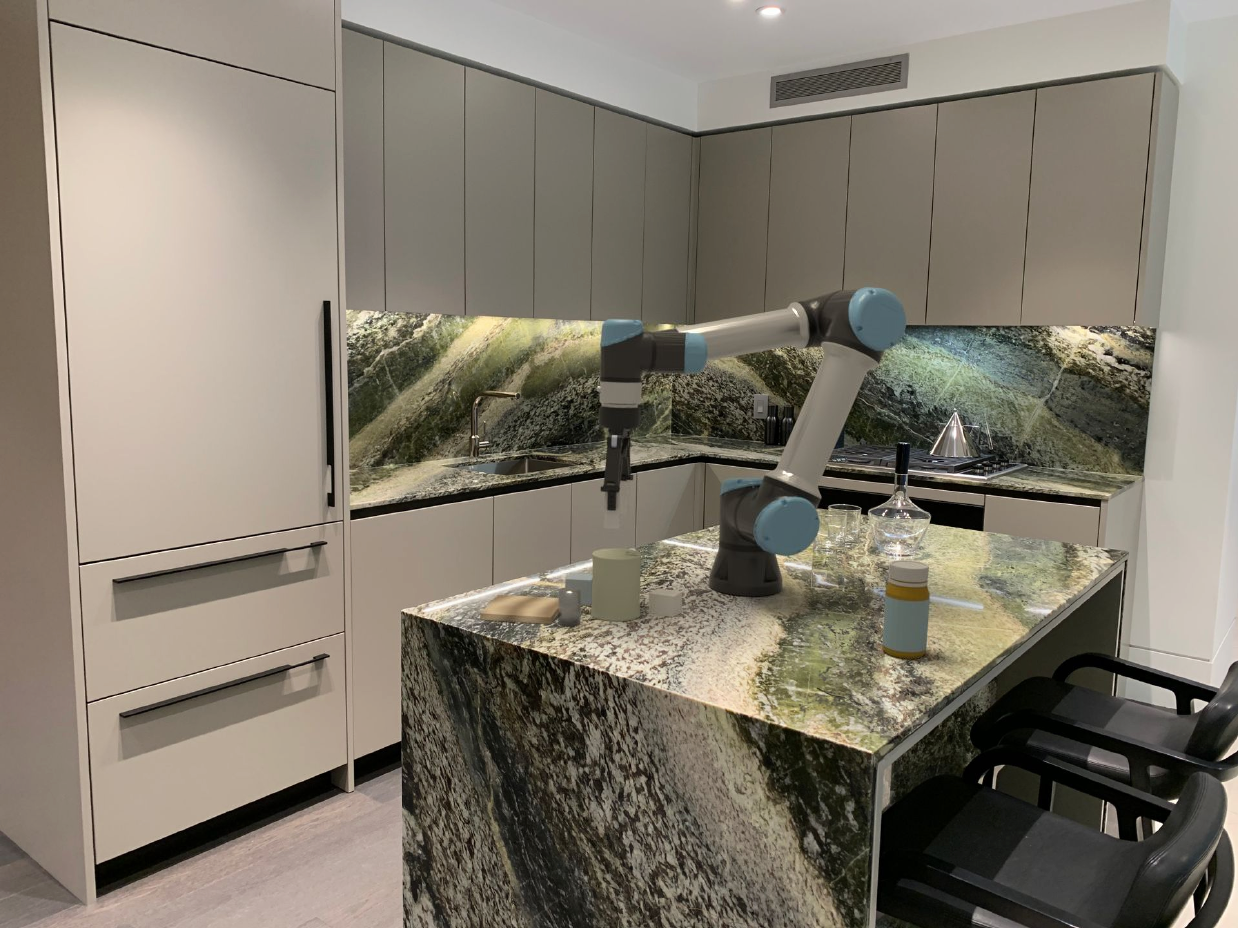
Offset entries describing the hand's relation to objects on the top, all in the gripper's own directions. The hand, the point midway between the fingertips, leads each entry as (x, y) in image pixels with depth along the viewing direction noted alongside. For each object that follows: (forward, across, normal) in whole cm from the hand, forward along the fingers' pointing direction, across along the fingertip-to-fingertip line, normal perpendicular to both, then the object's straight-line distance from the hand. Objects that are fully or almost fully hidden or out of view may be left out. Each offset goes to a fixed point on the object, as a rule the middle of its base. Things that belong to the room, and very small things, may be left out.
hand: (616, 521), depth 177 cm
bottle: (+17, +13, +50) cm, 55 cm away
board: (+18, +2, -17) cm, 24 cm away
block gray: (+18, -8, -8) cm, 21 cm away
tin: (+18, +7, -7) cm, 20 cm away
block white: (+18, -3, +9) cm, 20 cm away
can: (+18, 0, 0) cm, 18 cm away
